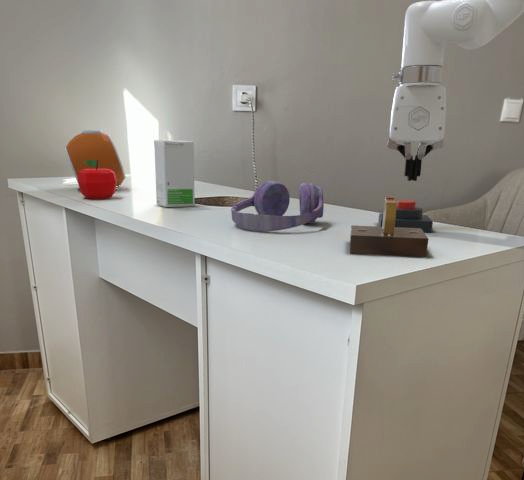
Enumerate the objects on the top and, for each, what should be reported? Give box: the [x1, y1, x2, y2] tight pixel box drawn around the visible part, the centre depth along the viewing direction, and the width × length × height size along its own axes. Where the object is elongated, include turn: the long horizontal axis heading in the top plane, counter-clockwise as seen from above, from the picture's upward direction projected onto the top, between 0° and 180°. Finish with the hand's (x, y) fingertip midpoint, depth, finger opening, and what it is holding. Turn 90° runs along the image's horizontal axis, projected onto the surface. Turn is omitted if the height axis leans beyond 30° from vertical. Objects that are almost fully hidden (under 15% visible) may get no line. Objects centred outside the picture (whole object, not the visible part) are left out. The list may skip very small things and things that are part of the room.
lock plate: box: [349, 225, 429, 258], centre depth 93 cm, size 12×10×3 cm
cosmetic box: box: [153, 139, 196, 208], centre depth 138 cm, size 8×7×16 cm
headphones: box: [230, 180, 324, 233], centre depth 114 cm, size 18×8×20 cm
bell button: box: [396, 199, 417, 210], centre depth 113 cm, size 4×4×2 cm
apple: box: [77, 160, 117, 200], centre depth 152 cm, size 11×11×10 cm
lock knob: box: [382, 196, 398, 234], centre depth 91 cm, size 6×2×5 cm, turn 172°
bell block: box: [377, 206, 434, 233], centre depth 114 cm, size 10×9×4 cm
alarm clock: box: [64, 129, 126, 188], centre depth 172 cm, size 19×18×17 cm
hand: (411, 180), depth 111 cm, fingers closed
